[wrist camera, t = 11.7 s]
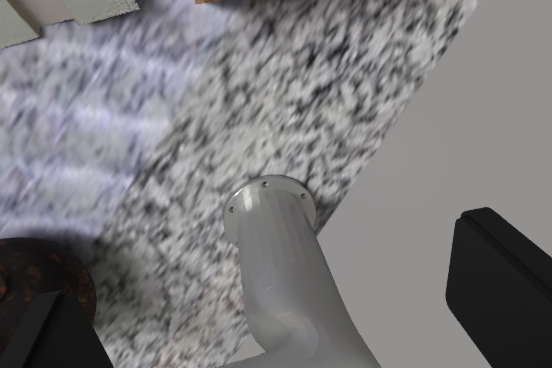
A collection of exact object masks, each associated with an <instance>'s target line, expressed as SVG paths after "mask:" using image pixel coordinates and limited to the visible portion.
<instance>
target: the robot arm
mask: <svg viewBox="0 0 552 368" xmlns="http://www.w3.org/2000/svg"><path fill="white" fill-rule="evenodd" d="M263 182H266V183H263ZM315 221H316V207H315V203H314V201H313V198H312V196H311V195H310V193H309V191H308V190H307V189H306V188H305V187H304V186H303V185H302V184H300V183H299V182H297V181H296V180H293V179H291V178H288V177H284V176H278V175H269V176H262V177H258V178H255V179H252V180H250V181H248V182H246V183H244V184H243V185H242V186H240V187H239V188H238V189H236V191H235V192H234V193H233V194H232V195H231V196H230V198H229V200H228V201H227V203H226V206H225V209H224V215H223V222H224V229H225V233H226V235H227V237H228V239H229V240H230V241H231V242H232V244H233V245H234V246H236V247H237V248H238V252H239V261H240V271H241V280H242V289H243V299H244V309H245V317H246V322H247V324H248V327H249V330H250V332H251V334H252V335H253V337H254V339H255V340H256V341H257V343H258V344H259V345H260V346H261V347H262V348H263V349H264V350H265V351H266V352H265V353H262V354H260V355H258V356H254V357H251V358H247V359H244V360H240V361H236V362H233V363H229V364H226V365H222V366H219V367H215V368H381V366H380V365H379V363H378V362H377V360H376V358H375V357H374V355H373V354H372V352H371V351H370V349H369V348H368V347H367V345H366V343H365V342H364V340H363V339H362V337H361V335H360V334H359V333H358V330H357V329H356V327H355V325H354V323H353V322H352V320H351V318H350V316H349V314H348V312H347V310H346V307H345V306H344V303H343V301H342V298H341V296H340V294H339V291H338V289H337V286H336V284H335V281H334V279H333V277H332V274H331V272H330V269H329V267H328V265H327V262H326V260H325V257H324V255H323V253H322V250H321V248H320V245H319V243H318V240H317V238H316V235H315V233H314V231H313V227H314V225H315ZM446 301H447V305H448V307H449V309H450V310H451V312H452V313H453V314H454V316H455V317H456V319H457V320H458V321H459V323H460V324H461V325H462V327H463V328H464V330H465V331H466V332H467V334H468V335H469V336H470V338H471V339H472V340H473V342H474V343H475V344H476V346H477V348H478V349H479V350H480V352H481V353H482V354H483V356H484V357H485V358H486V360H487V361H488V363H489V364H490V365H491V367H492V368H552V258H551V257H550V256H549V255H548V254H546V253H545V252H544V251H543V250H542V249H540V248H539V247H538V246H537V245H535V244H534V243H533V242H532V241H531V240H529V239H528V238H527V237H525V236H524V235H523V234H522V233H521V232H519V231H518V230H517V229H516V228H514V227H513V226H512V225H511V224H510V223H508V222H507V221H506V220H505V219H503V218H502V217H501V216H500V215H499V214H497V213H496V212H495V211H494V210H492V209H491V208H488V207H484V208H479V209H474V210H469V211H465V212H463V213H462V214H461V217H460V218H459V219H457V220H456V223H455V229H454V236H453V243H452V252H451V258H450V266H449V273H448V280H447V287H446ZM0 368H114V367H113V364H112V363H111V361H110V359H109V357H108V355H107V353H106V351H105V349H104V347H103V345H102V343H101V342H100V340H99V338H98V336H97V334H96V332H95V330H94V328H93V326H92V324H91V322H90V320H89V319H88V317H87V315H86V313H85V311H84V309H83V307H82V305H81V303H80V301H79V299H78V298H77V296H76V295H74V294H72V295H70V294H69V293H68V292H67V291H66V290H59V291H54V292H49V293H44V294H39V295H37V296H35V297H34V299H33V300H32V302H31V303H30V305H29V307H28V309H27V311H26V312H25V314H24V316H23V318H22V320H21V321H20V323H19V325H18V327H17V329H16V331H15V332H14V334H13V336H12V338H11V340H10V341H9V343H8V345H7V347H6V349H5V350H4V352H3V354H2V356H1V358H0Z"/></svg>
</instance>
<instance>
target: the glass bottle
mask: <svg viewBox="0 0 552 368" xmlns="http://www.w3.org/2000/svg"><path fill="white" fill-rule="evenodd" d="M59 290H66V291H67V292H68V293H69V294H70V295H72V294H74V295H76V296H77V298H78V299H79V301H80V303H81V305H82V307H83V309H84V311H85V313H86V315H87V317H88V319H89V320H90V322H91V324H93V321H94V317H95V312H96V303H97V299H96V290H95V286H94V282H93V279H92V277H91V275H90V273H89V272H88V270H87V268H86V267H85V265H84V264H83V263H82V262H81V261H80V260H79V259H78V258H77V257H76V256H75V255H73V254H72V253H71V252H69V251H68V250H66V249H64V248H62V247H60V246H58V245H56V244H53V243H50V242H47V241H44V240H39V239H33V238H22V237H17V238H5V239H0V358H1V356H2V354H3V352H4V350H5V349H6V347H7V345H8V343H9V341H10V340H11V338H12V336H13V334H14V332H15V331H16V329H17V327H18V325H19V323H20V321H21V320H22V318H23V316H24V314H25V312H26V311H27V309H28V307H29V305H30V303H31V302H32V300H33V299H34V297H35V296H37V295H39V294H44V293H49V292H54V291H59Z"/></svg>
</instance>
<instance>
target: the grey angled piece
mask: <svg viewBox="0 0 552 368" xmlns="http://www.w3.org/2000/svg"><path fill="white" fill-rule="evenodd" d="M134 9H137V10H138V9H140V8H139V6H138V5H137V3H135V0H0V48H5V47H6V46H7V47H9V46H11V45H15V44H16V43H17V44H20V43H22V41H24V42H26V41H29V40H30V39H31V40H32V39H35V38H38V37H40V34H39V33H40V27H41V26H42V25H43V26H48V25H50V24H54V23H58V22H63V21H64V20H66V21H67V20H70V19H75V21H76V22H77V24H78V25H79V26H82V25H86V24H88V23H92V22H94V21H98V20H103V19H105V18H109V16H111V17H113V16H115V15H119V14H122V13H124V14H125V13H127V12H131V11H133V10H134Z"/></svg>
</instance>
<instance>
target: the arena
mask: <svg viewBox="0 0 552 368" xmlns="http://www.w3.org/2000/svg"><path fill="white" fill-rule="evenodd" d="M215 1H221V0H195V4H201V3H208V2H215Z"/></svg>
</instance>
